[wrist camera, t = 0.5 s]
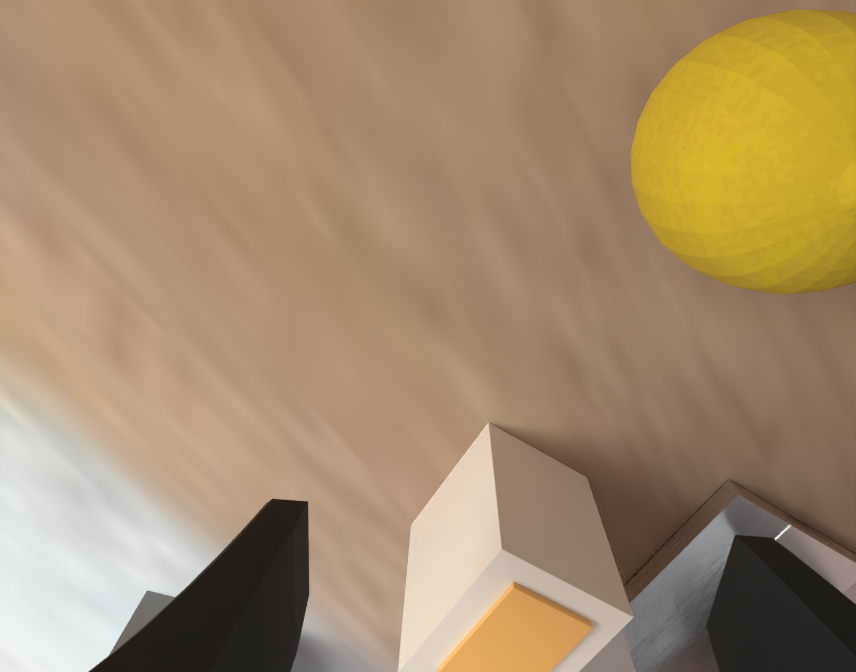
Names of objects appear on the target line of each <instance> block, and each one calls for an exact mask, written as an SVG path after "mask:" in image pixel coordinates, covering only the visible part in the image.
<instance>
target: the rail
mask: <svg viewBox="0 0 856 672" xmlns="http://www.w3.org/2000/svg"><path fill="white" fill-rule="evenodd" d="M735 535H745V536H758V537H770V538H773V539H774V540H776V541H777V542H778V543H780V544H781V545H782V546H784V547H785V548H786V549H788V550H789V551H790V552H792V553H793V554H794V555H795V556H797V557H798V558H799V559H801V560H802V561H803V562H804V563H806V564H807V565H808V566H809V567H811V568H812V569H813V570H814V571H816V572H817V573H818V574H819V575H820V576H822V577H823V578H824V579H825V580H827V581H828V582H829V583H830V584H832V585H833V586H834V587H835V588H836V589H838V590H839V591H840V592H841V593H843V594H844V595H845V596H846V597H848V598H849V599H850V600H851V601H852V602H854V603H855V604H856V554H855V553H853V552H851V551H850V550H848V549H846V548H844V547H843V546H841V545H839V544H838V543H836V542H834V541H832V540H831V539H829V538H827V537H826V536H824V535H822V534H820V533H819V532H817V531H815V530H814V529H812V528H810V527H808V526H807V525H805V524H803V523H802V522H800V521H798V520H797V519H795V518H793V517H791V516H790V515H788V514H786V513H785V512H783V511H781V510H779V509H778V508H776V507H774V506H773V505H771V504H769V503H767V502H766V501H764V500H762V499H761V498H759V497H757V496H755V495H754V494H752V493H750V492H749V491H747V490H745V489H743V488H742V487H740V486H738V485H737V484H735V483H733V482H731V481H730V480H728V481H727V482H726V483H725V484H724V485H723V486H722V487H721V488H720V489H719V490H718V491H717V492H716V493H715V494H714V495H713V496H712V497H711V498H710V499H709V500H708V501H707V502H706V503H705V504H704V505H703V506H702V507H701V508H700V509H699V510H698V511H697V512H696V513H695V514H694V515H693V517H692V518H691V519H690V520H689V521H688V522H687V523H686V524H685V525H684V526H683V527H682V528H681V529H680V530H679V531H678V532H677V533H676V534H675V535H674V536H673V537H672V538H671V539H670V540H669V541H668V542H667V543H666V544H665V545H664V546H663V547H662V548H661V549H660V550H659V551H658V552H657V553H656V554H655V555H654V556H653V557H652V558H651V560H650V561H649V562H648V563H647V564H646V565H645V566H644V567H643V568H642V569H641V570H640V571H639V572H638V573H637V574H636V575H635V576H634V577H633V578H632V579H631V580H630V581H629V582H628V583H627V584H626V585H625V586H624V590H625V593H626V596H627V599H628V602H629V605H630V608H631V611H632V614H633V617H634V618H633V619H632V620H631V621H630V622H629V623H628V624H627V625H626V626H625V627H624V628H623V629H622V630H621V631H620V632H619V633H618V634H616V635H615V636H614V637H613V638H612V639H611V640H610V641H609V642H608V643H607V644H606V645H605V646H604V647H603V648H602V649H601V650H600V651H599V652H598V653H597V654H596V655H595V656H594V657H593V658H592V659H591V660H590V661H589V662H588V663H587V664H586V665H585V666H584V667H583V668H582V669H581V670H580V671H579V672H720V671H719V668H718V665H717V662H716V659H715V655H714V652H713V648H712V645H711V641H710V638H709V634H708V631H707V627H706V624H707V621H708V618H709V614H710V611H711V608H712V605H713V602H714V599H715V596H716V592H717V589H718V586H719V583H720V580H721V577H722V574H723V571H724V567H725V564H726V561H727V558H728V555H729V552H730V549H731V545H732V542H733V539H734V536H735Z"/></svg>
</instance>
